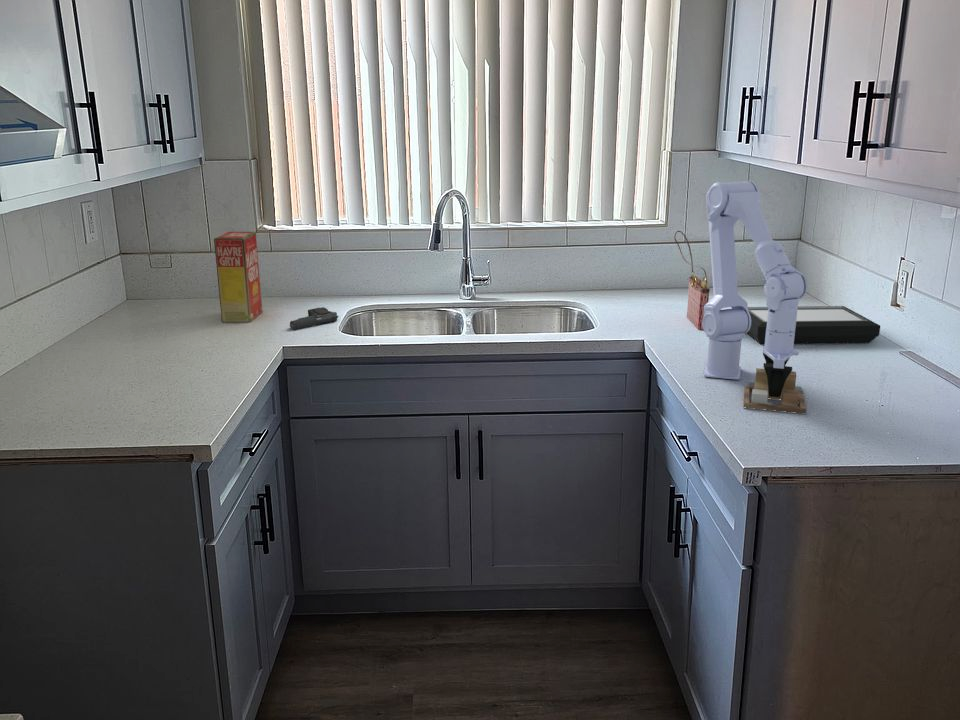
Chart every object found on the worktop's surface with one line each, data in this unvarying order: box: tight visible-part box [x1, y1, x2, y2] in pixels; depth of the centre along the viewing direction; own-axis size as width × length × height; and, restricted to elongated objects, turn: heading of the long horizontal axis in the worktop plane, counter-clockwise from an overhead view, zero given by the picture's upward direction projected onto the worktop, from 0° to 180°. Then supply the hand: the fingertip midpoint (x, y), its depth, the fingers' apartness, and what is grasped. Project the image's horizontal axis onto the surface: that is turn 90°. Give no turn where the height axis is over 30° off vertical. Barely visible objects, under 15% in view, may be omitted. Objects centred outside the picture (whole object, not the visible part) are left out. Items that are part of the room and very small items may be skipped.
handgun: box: [289, 307, 339, 331], centre depth 237 cm, size 3×16×12 cm
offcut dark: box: [780, 389, 799, 407], centre depth 167 cm, size 3×3×4 cm
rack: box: [743, 385, 807, 414], centre depth 171 cm, size 12×12×1 cm
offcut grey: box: [750, 389, 769, 404], centre depth 169 cm, size 3×3×3 cm
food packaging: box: [213, 231, 264, 323], centre depth 240 cm, size 13×9×25 cm
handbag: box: [673, 230, 711, 331], centre depth 231 cm, size 7×21×25 cm, turn 179°
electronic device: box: [746, 305, 881, 345], centre depth 219 cm, size 32×6×20 cm
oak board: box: [754, 368, 797, 401], centre depth 172 cm, size 2×8×6 cm, turn 72°
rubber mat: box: [748, 381, 803, 391], centre depth 178 cm, size 5×11×1 cm, turn 72°
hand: (774, 390), depth 173 cm, fingers open, 7 cm apart
